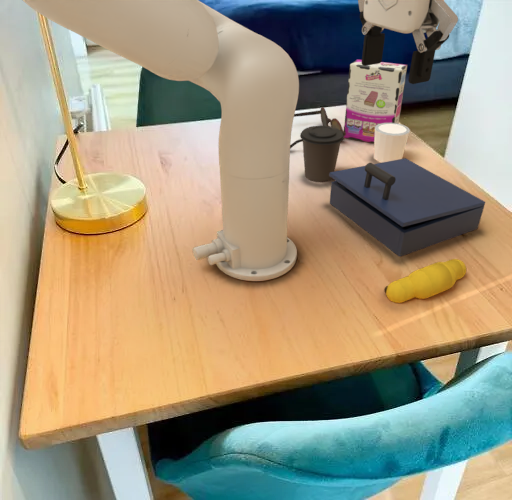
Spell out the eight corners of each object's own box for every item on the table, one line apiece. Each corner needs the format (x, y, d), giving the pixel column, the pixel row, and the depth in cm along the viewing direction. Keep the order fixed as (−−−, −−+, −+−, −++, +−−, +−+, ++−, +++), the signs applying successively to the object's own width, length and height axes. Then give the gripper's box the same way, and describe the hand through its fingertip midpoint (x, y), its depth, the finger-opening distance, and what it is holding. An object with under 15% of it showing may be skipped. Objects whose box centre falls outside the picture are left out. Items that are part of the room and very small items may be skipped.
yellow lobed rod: (400, 315, 66) (405, 292, 64) (379, 297, 69) (384, 274, 67) (474, 284, 72) (481, 262, 69) (452, 269, 75) (458, 246, 72)
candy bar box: (396, 139, 114) (409, 64, 105) (390, 147, 110) (402, 70, 101) (349, 130, 118) (357, 57, 109) (342, 138, 115) (349, 63, 105)
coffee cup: (293, 184, 96) (295, 135, 91) (303, 167, 103) (306, 119, 97) (335, 191, 94) (340, 140, 88) (343, 172, 101) (348, 124, 95)
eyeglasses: (344, 146, 111) (347, 124, 108) (280, 154, 108) (280, 131, 105) (320, 122, 123) (322, 102, 120) (261, 129, 120) (261, 108, 117)
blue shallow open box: (398, 260, 76) (404, 233, 74) (329, 206, 90) (331, 181, 87) (476, 232, 83) (484, 206, 80) (400, 185, 96) (404, 161, 93)
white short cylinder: (405, 168, 102) (411, 135, 98) (371, 166, 103) (375, 133, 99) (403, 154, 107) (408, 122, 103) (370, 152, 108) (374, 121, 104)
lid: (402, 227, 73) (409, 198, 70) (329, 176, 86) (332, 149, 83) (484, 205, 80) (493, 178, 77) (404, 161, 93) (410, 137, 91)
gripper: (345, -78, 64) (334, 61, 74) (446, -72, 52) (417, 95, 62) (391, -80, 67) (375, 54, 77) (498, -74, 55) (462, 85, 64)
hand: (393, 72), depth 69 cm, fingers open, 9 cm apart
